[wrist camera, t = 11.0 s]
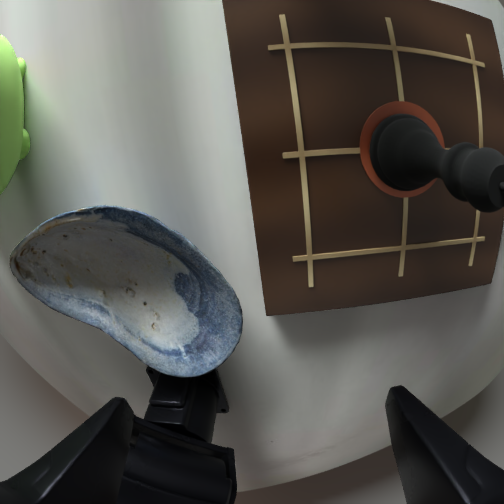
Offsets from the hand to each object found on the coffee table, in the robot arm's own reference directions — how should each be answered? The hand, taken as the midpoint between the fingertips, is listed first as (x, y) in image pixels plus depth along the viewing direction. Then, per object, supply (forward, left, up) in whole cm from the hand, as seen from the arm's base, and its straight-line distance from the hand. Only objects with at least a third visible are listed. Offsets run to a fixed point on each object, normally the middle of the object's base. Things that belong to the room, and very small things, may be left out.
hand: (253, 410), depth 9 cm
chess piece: (+6, -9, -10) cm, 15 cm away
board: (+6, -9, -12) cm, 16 cm away
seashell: (-1, +9, -12) cm, 15 cm away
